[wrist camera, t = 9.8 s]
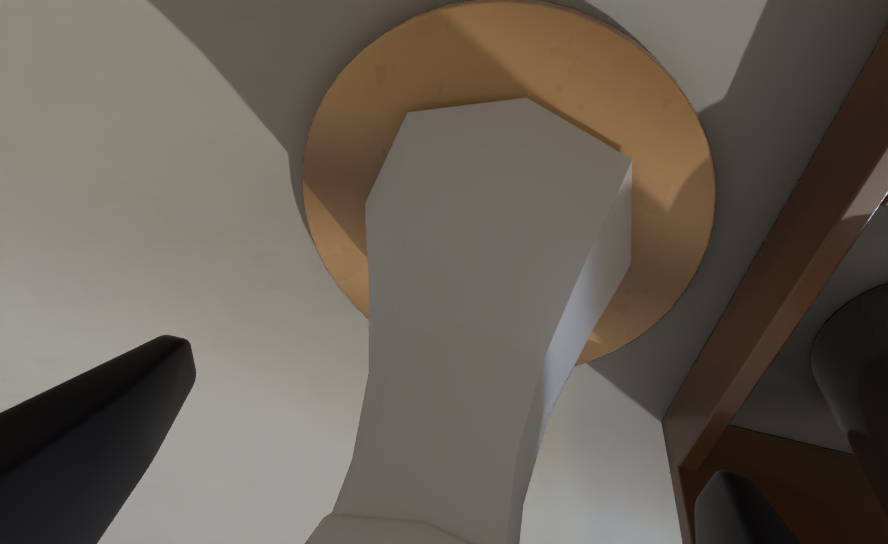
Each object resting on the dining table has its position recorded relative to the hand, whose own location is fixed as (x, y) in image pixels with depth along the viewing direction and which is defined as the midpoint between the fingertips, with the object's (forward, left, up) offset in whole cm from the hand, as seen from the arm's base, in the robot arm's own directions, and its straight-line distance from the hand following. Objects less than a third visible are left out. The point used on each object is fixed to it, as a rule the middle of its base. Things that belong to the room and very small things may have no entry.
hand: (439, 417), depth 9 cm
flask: (0, 0, -7) cm, 7 cm away
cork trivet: (0, 0, -7) cm, 7 cm away
